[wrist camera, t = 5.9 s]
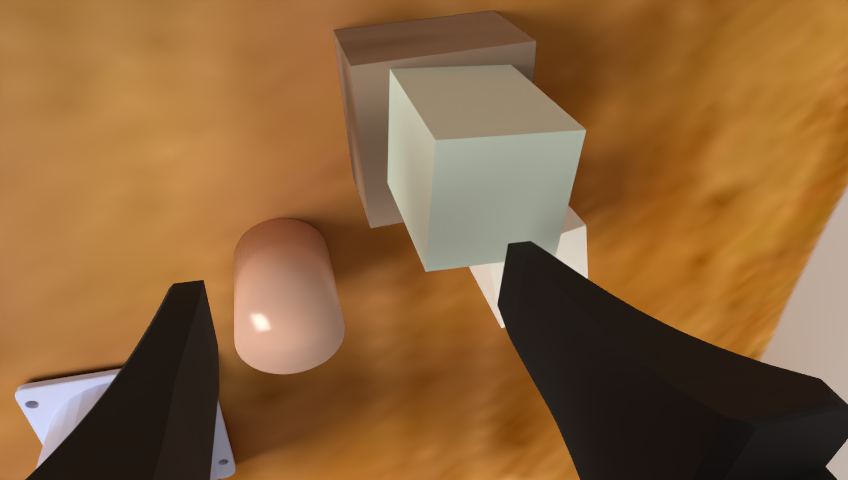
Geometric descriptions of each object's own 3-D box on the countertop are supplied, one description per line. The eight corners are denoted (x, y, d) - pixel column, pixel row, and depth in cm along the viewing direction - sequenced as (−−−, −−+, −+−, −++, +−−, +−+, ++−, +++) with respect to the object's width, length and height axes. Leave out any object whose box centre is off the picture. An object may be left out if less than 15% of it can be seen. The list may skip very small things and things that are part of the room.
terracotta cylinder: (330, 284, 26) (347, 364, 22) (241, 297, 25) (242, 382, 21) (325, 213, 24) (343, 288, 20) (227, 223, 23) (225, 304, 19)
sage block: (494, 173, 20) (555, 254, 17) (387, 182, 19) (425, 272, 16) (510, 64, 18) (586, 129, 14) (389, 68, 17) (435, 140, 13)
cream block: (539, 231, 28) (588, 296, 24) (464, 257, 28) (501, 328, 24) (532, 163, 25) (585, 224, 22) (449, 192, 25) (488, 259, 21)
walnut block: (487, 151, 25) (524, 199, 21) (352, 175, 23) (370, 228, 20) (491, 9, 21) (536, 40, 18) (332, 28, 20) (350, 66, 17)
